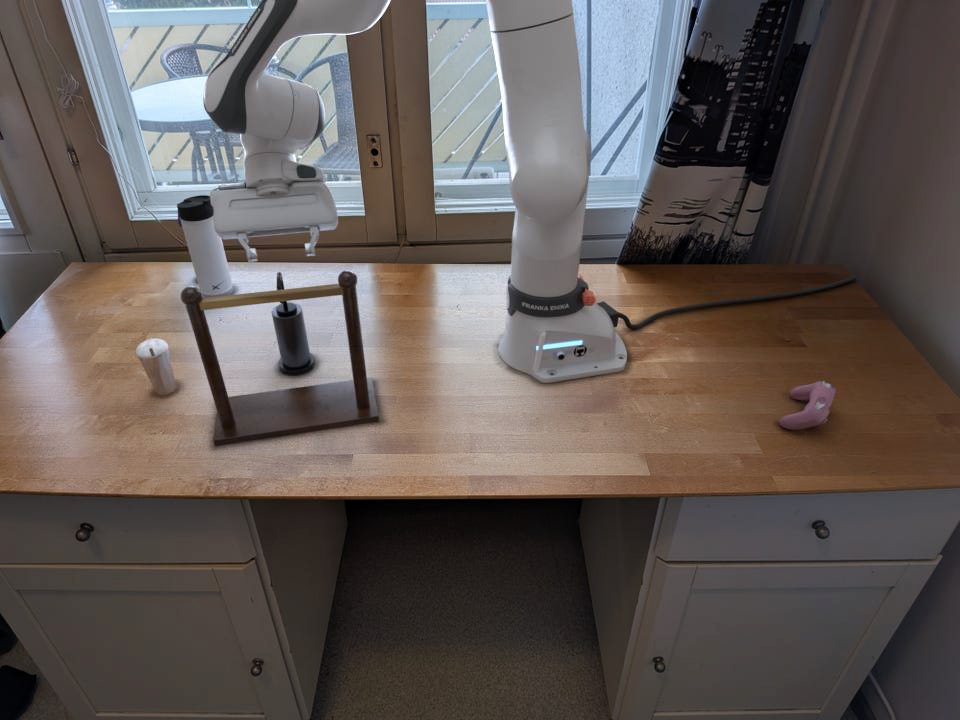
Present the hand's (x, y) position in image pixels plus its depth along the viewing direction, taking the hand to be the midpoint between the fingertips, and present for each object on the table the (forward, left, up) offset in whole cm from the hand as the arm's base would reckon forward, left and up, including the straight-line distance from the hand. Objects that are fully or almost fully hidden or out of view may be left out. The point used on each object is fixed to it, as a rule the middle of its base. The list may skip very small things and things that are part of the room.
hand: (282, 257), depth 109 cm
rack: (-4, +21, -16) cm, 27 cm away
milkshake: (+19, +15, -16) cm, 29 cm away
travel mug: (+19, -17, -16) cm, 30 cm away
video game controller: (-82, +27, -16) cm, 88 cm away
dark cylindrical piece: (-2, +10, -16) cm, 19 cm away
